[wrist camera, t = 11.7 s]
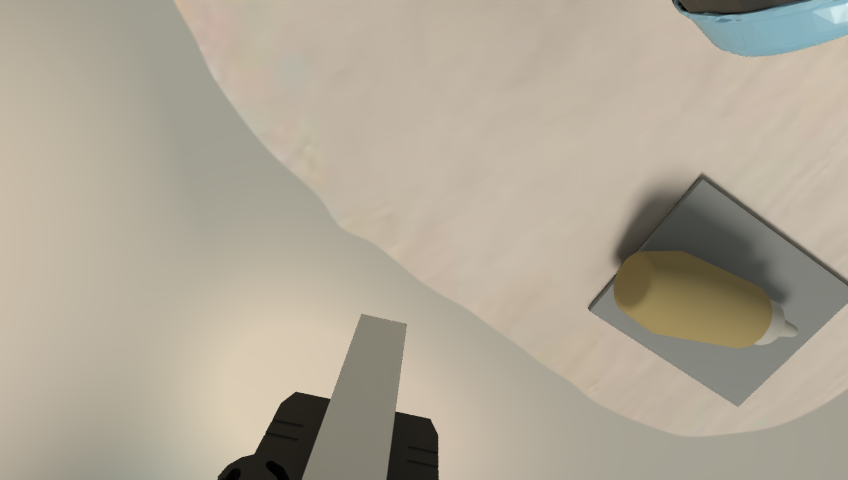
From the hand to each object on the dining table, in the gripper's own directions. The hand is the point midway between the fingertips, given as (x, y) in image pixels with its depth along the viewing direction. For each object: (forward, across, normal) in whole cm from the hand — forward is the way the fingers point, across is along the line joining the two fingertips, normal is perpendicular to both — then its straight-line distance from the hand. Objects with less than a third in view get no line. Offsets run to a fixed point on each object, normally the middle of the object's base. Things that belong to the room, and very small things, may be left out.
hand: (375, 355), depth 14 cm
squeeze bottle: (+25, +21, -3) cm, 32 cm away
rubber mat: (+29, +33, -4) cm, 45 cm away
